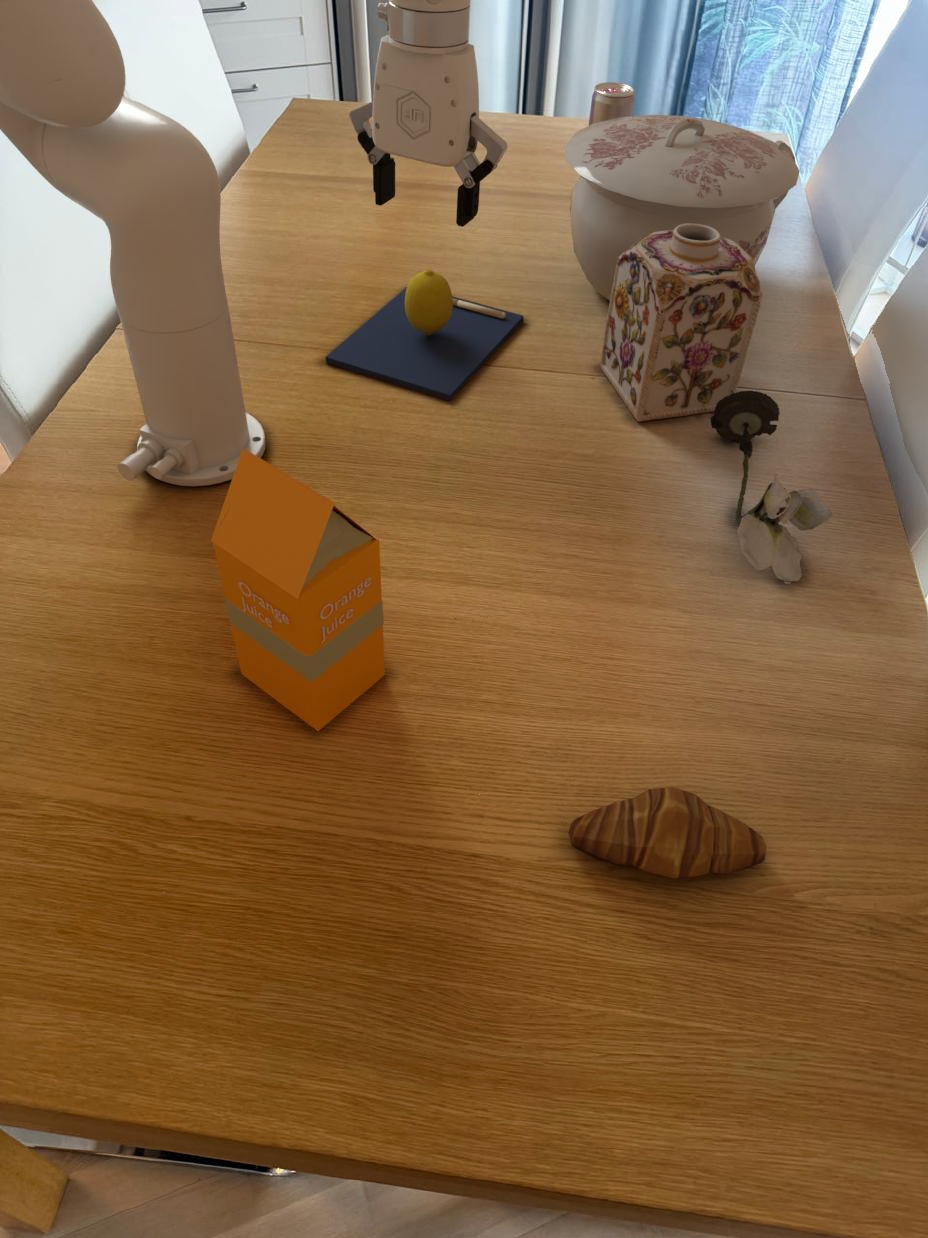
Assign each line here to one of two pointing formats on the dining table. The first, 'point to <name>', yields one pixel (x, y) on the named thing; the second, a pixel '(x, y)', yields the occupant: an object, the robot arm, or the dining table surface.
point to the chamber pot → (671, 185)
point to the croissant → (668, 835)
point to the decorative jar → (679, 322)
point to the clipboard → (426, 347)
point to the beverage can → (611, 102)
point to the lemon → (428, 302)
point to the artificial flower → (767, 490)
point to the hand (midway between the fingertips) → (424, 211)
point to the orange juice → (299, 592)
